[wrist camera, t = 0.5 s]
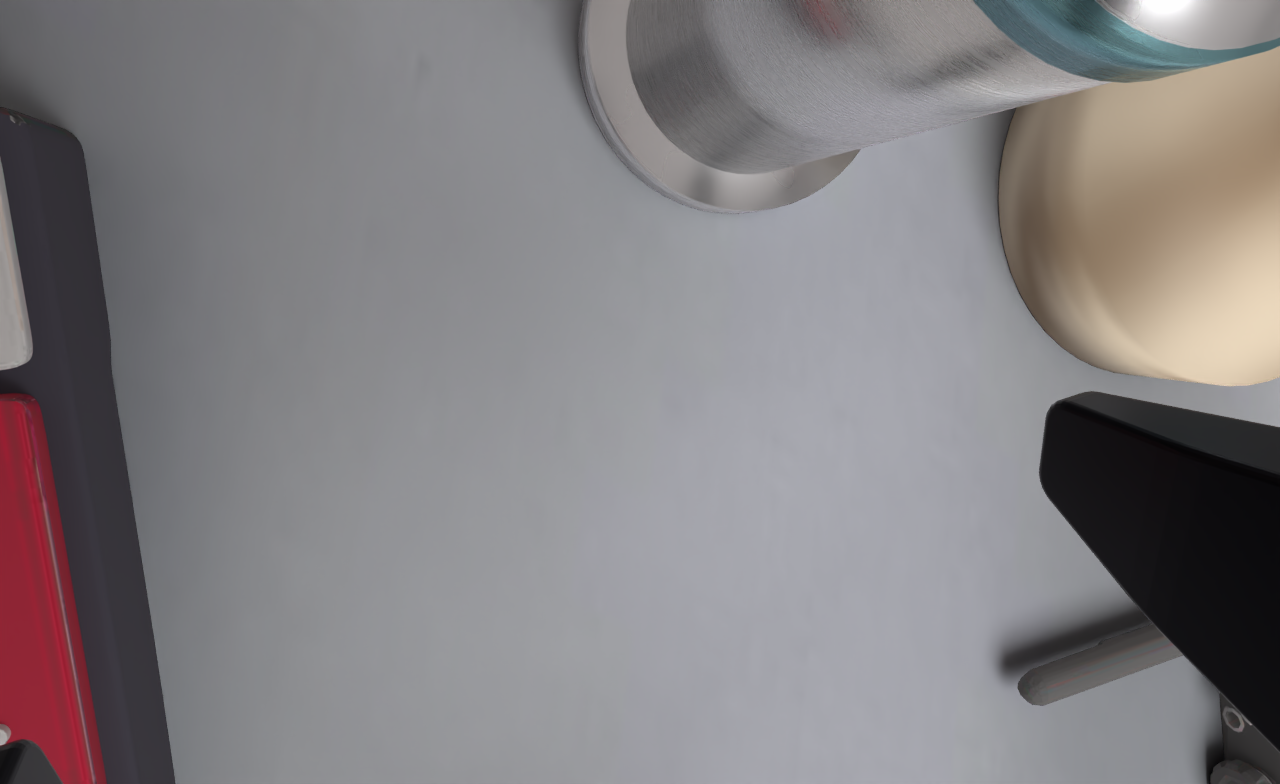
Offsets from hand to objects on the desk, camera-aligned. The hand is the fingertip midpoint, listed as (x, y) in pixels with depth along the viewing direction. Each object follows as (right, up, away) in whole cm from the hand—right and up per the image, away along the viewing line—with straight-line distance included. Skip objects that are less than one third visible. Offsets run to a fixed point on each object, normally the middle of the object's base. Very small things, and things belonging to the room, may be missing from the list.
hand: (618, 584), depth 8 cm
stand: (+14, +7, +18) cm, 24 cm away
